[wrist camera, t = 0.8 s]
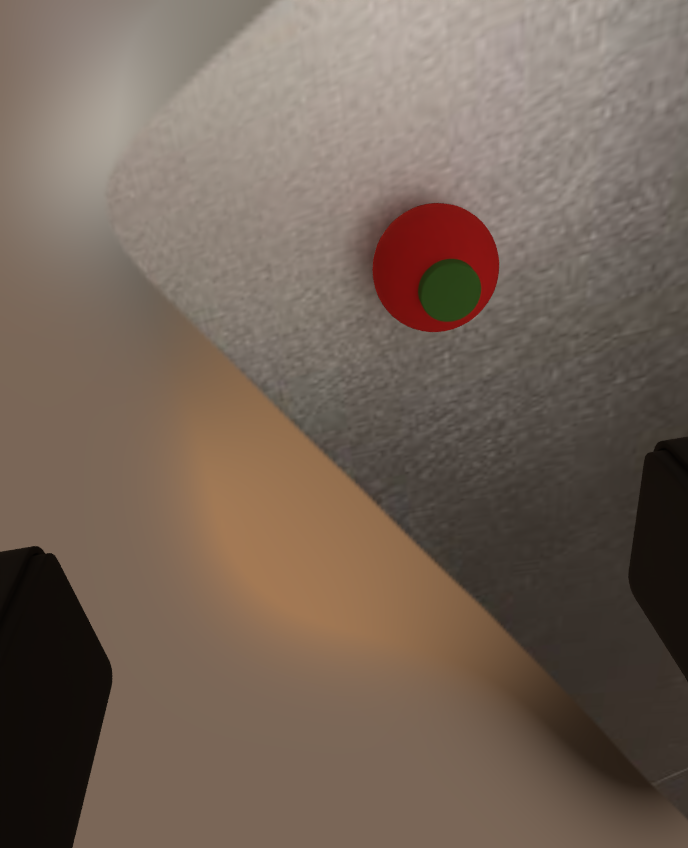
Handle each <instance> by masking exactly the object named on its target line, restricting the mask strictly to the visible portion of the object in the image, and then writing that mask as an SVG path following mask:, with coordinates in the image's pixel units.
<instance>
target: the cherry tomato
mask: <svg viewBox="0 0 688 848" xmlns="http://www.w3.org/2000/svg"><path fill="white" fill-rule="evenodd" d="M372 271H373V280H374V285H375V289H376V292H377V295H378V297H379V299H380V301H381V302H382V304H383V305H384V307H385V308H386V310H387V311H388V312H389V313H390V314H391V315H392V316H393V317H394V318H396V319H397V320H398V321H399V322H401V323H403V324H404V325H406V326H408V327H411V328H413V329H417V330H420V331H426V332H441V331H447V330H451V329H454V328H457V327H460V326H462V325H463V324H465V323H467V322H469V321H470V320H472V319H473V318H474V317H475V316H476V315H478V314H479V313H480V312H481V310H482V309H483V308H484V307H485V306H486V304H487V303H488V301H489V300H490V298H491V296H492V294H493V292H494V290H495V287H496V284H497V280H498V274H499V257H498V252H497V248H496V244H495V242H494V239H493V237H492V235H491V233H490V232H489V230H488V229H487V228H486V226H485V225H484V224H483V222H482V221H481V220H479V219H478V218H477V217H476V216H475V215H473V214H472V213H470V212H469V211H467V210H465V209H463V208H461V207H458V206H455V205H451V204H444V203H431V204H425V205H421V206H417V207H415V208H412V209H410V210H408V211H407V212H405V213H403V214H402V215H400V216H399V217H398V218H396V219H395V220H394V221H393V222H392V223H391V224H390V225H389V226H388V228H387V229H386V230H385V232H384V233H383V235H382V236H381V238H380V240H379V242H378V244H377V247H376V250H375V254H374V259H373V269H372Z"/></svg>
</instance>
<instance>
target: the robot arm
mask: <svg viewBox="0 0 688 848" xmlns="http://www.w3.org/2000/svg"><path fill="white" fill-rule="evenodd" d="M628 578H629V584H630V588H631V591H632V593H633V595H634V597H635V599H636V600H637V602H638V603H639V605H640V607H641V608H642V610H643V611H644V613H645V615H646V616H647V618H648V619H649V621H650V622H651V624H652V626H653V627H654V629H655V630H656V632H657V633H658V635H659V637H660V638H661V640H662V641H663V643H664V644H665V646H666V648H667V649H668V651H669V652H670V654H671V656H672V657H673V659H674V660H675V662H676V663H677V665H678V667H679V668H680V670H681V671H682V673H683V674H684V676H685V678H686V679H687V681H688V437H683V438H677V439H671V440H665V441H661V442H658V443H657V445H656V446H655V449H654V452H650V453H648V454H647V455H646V456H645V460H644V466H643V473H642V481H641V488H640V495H639V502H638V509H637V516H636V523H635V531H634V538H633V545H632V552H631V559H630V566H629V576H628ZM111 686H112V668H111V664H110V661H109V659H108V657H107V655H106V654H105V652H104V649H103V647H102V646H101V644H100V642H99V640H98V638H97V636H96V634H95V632H94V630H93V628H92V626H91V624H90V622H89V620H88V618H87V616H86V614H85V612H84V611H83V608H82V606H81V605H80V603H79V601H78V599H77V597H76V595H75V593H74V591H73V589H72V587H71V585H70V583H69V581H68V579H67V577H66V575H65V573H64V571H63V569H62V568H61V565H60V563H59V562H58V560H57V558H56V557H55V555H53V554H52V553H47V554H45V553H44V551H43V550H42V549H41V548H40V547H38V546H32V547H27V548H21V549H15V550H9V551H3V552H0V848H72V847H73V843H74V838H75V835H76V830H77V826H78V822H79V818H80V814H81V810H82V806H83V802H84V797H85V793H86V789H87V785H88V781H89V777H90V773H91V768H92V764H93V760H94V756H95V752H96V748H97V744H98V740H99V736H100V732H101V727H102V723H103V719H104V715H105V711H106V707H107V703H108V699H109V694H110V690H111Z"/></svg>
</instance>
